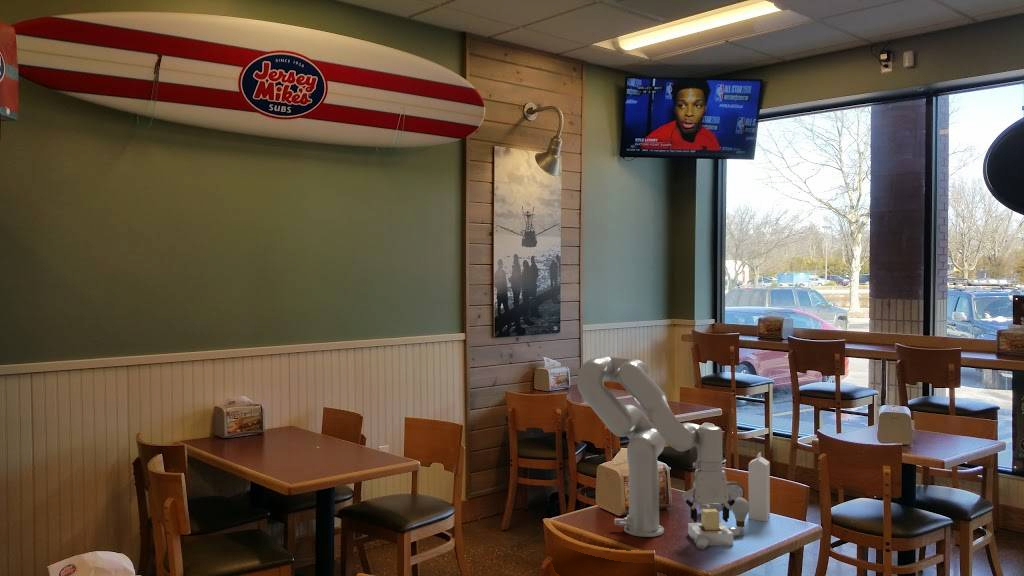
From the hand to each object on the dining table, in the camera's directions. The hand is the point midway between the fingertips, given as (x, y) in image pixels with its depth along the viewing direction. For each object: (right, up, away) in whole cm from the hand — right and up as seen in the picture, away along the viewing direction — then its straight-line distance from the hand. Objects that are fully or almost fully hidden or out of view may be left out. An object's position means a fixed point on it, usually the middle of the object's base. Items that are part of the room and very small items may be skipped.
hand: (709, 520), depth 248 cm
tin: (+15, -6, +39) cm, 43 cm away
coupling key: (0, -6, 0) cm, 6 cm away
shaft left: (-4, -6, -7) cm, 10 cm away
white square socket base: (0, -6, 0) cm, 6 cm away
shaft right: (+8, -6, +2) cm, 10 cm away
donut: (+6, -6, +26) cm, 28 cm away
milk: (+23, -6, +23) cm, 32 cm away
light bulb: (+13, -6, +11) cm, 18 cm away
